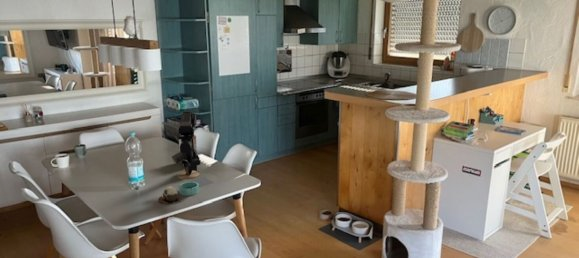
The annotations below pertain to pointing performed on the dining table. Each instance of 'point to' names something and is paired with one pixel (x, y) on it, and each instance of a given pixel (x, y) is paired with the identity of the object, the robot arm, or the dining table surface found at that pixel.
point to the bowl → (189, 188)
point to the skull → (169, 196)
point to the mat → (202, 181)
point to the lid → (186, 175)
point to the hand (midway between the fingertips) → (188, 173)
